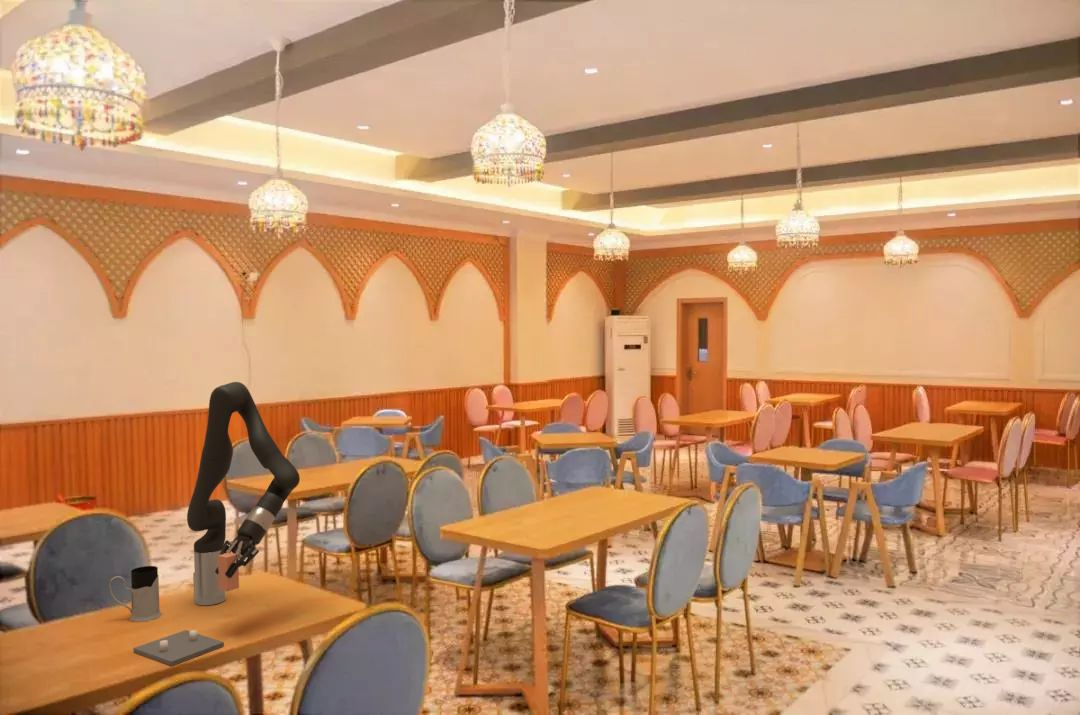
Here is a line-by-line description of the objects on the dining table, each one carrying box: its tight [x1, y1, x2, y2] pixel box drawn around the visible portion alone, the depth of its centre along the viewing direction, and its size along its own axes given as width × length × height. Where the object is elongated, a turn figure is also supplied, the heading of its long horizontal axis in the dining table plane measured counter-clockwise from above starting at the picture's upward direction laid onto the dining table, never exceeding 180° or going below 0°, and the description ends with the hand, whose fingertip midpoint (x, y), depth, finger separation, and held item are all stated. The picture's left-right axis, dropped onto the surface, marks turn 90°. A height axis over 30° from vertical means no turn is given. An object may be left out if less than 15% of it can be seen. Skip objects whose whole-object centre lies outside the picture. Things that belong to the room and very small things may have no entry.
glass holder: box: [109, 565, 162, 623], centre depth 257 cm, size 9×14×15 cm, turn 112°
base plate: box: [132, 629, 225, 667], centre depth 231 cm, size 18×16×4 cm
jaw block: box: [218, 552, 240, 593], centre depth 242 cm, size 4×4×10 cm
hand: (222, 575), depth 240 cm, fingers closed on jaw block, 4 cm apart
